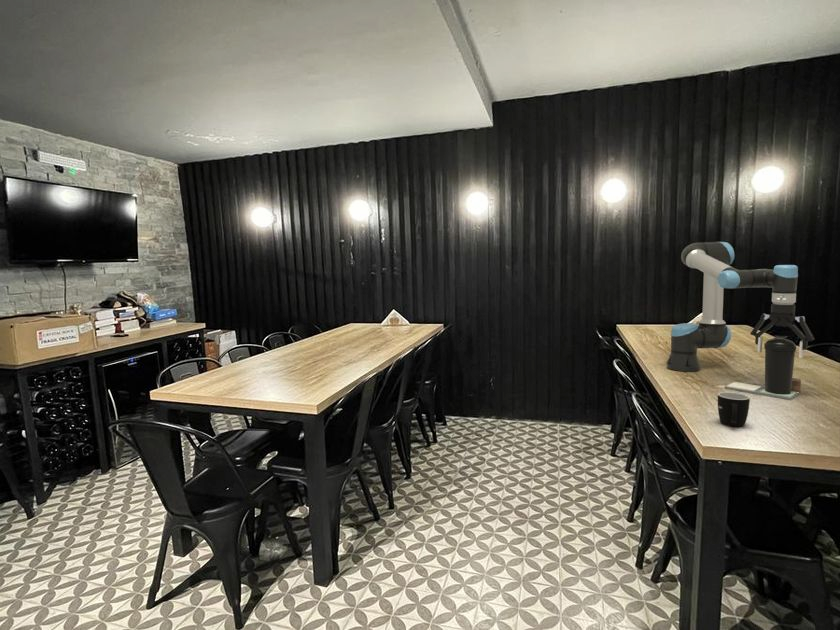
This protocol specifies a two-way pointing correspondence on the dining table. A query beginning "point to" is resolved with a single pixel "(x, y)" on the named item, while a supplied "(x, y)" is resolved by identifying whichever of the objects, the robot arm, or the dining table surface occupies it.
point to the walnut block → (796, 385)
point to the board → (758, 390)
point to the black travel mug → (779, 365)
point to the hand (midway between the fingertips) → (779, 354)
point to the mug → (733, 408)
